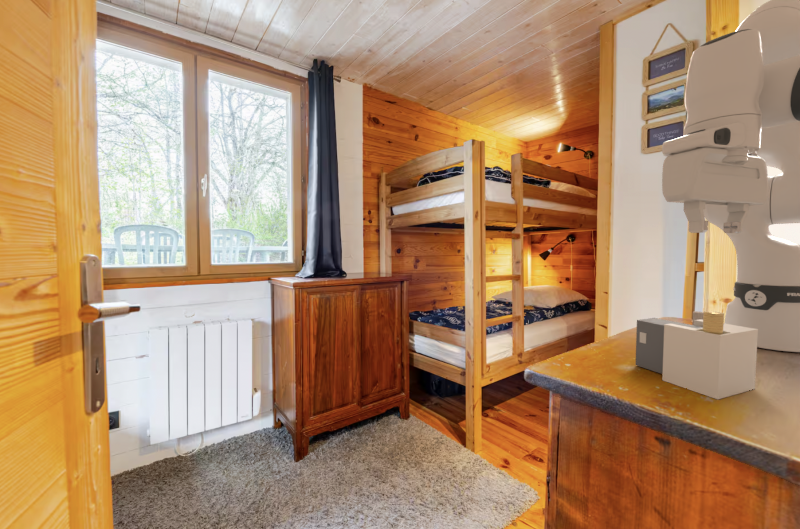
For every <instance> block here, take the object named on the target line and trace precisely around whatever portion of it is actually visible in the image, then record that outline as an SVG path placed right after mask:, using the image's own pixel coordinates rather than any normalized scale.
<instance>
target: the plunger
mask: <svg viewBox="0 0 800 529" xmlns="http://www.w3.org/2000/svg"><path fill="white" fill-rule="evenodd" d="M703 312H704V313H703V332H707V333H712V334H717V335H721V334H723V324H724V322H725V313H723V312H720V311H712V310H711V311H710V310H709V311H708V310H707V311H703Z"/></svg>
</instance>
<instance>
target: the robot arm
mask: <svg viewBox="0 0 800 529" xmlns="http://www.w3.org/2000/svg"><path fill="white" fill-rule="evenodd" d="M684 106H685V121H686V122H685V124H684V127H683V136H680V137H677V138H674V139H670V140H666V141H664V142H663V143H662V147H661V152H662V155H663V156H664V157H665V158H664V160H663V164H662V173H661V174H662V175H661V176H662V177H661V178H662V179H661V184H662V185H661V186H662V187H661V188H662V189H661V190H662V195H663V197H664V200H665V201H666V202H667V203H677V204H678V203H680V204H683V212H684V215H685V217H686V219H687V221H688V233H691V234H692V233H693V234H696V233H697V234H698V233H699V234H702V233H704V234H705V233H707V232H708V231H709V230H708V229H709V228H708V226H709V223H711V224H712V225H714V226H716V227H717V228H719V229H720V230H721V231H723V233H724V234H726V235H727V236H728V238H729V239H730V241H731V243H732V244H733V246H734V249H735V251H736V252H735V253H736V254H735V255H736V264H737V265H736V267H737V269H736V270H737V272H736V273H737V274H736V277H737V279H736V281H735V282H734V285H733V288H732V289H733V296H734V297H735V298H734V299H733V300H731V301H730V302H728V303H727V305H726V310H725V314H724V323H725V324H731V325H736V326H742V327H748V328H754V329H758V337H757V348H760V349H766V350H771V351H772V350H773V351H783V352H792V353H800V244H799V243H796V242H793V241H790V240H789V239H785V238H781V237H778V236H775V235H773V234H772V233H771V231H770V229H769V226H771V225H780V224H781V225H782V224H785V225H786V224H787V225H788V224H800V0H768V1H766V2H765V3H763V4H761V5H760V6H758V7H757V8H756V9H754V10H753V11H751V13H750V14H749V15H747V16H746V17H745V19H743V21H742V22H741V23H740V24H739V26H738V27H737V28H736V30H735V31H732V32H729V33H727V34H724V35H721V36H718V37H716V38H713V39H710V40H708V41H706V42H705V43H703V44H702V45H700V46H698V47H697V48H696V49H695V50H694V51H693V52H692V55H691V57H690V62H689V65H688V70H687V75H686V83H685V93H684ZM768 167H771V168H775V169H779V170H780V171H781V173H780V174H777V175H774V176H768Z"/></svg>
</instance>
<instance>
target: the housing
mask: <svg viewBox="0 0 800 529" xmlns="http://www.w3.org/2000/svg"><path fill="white" fill-rule="evenodd" d="M694 325H695V326H700V327H703V320H702V319H699V320H694ZM757 337H758V329H754V328H748V327H742V326H736V325H731V324H725V323H724V324H723V334H721V335H717V334H712V333H707V332H703V328H698V329H696V328H691V327H686V326H681V325H676V324H664V347H663V374H662V381H663V382H667V383H670V384H672V385H675V386H677V387H680V388H684V389H686V388H687V390H690V391H693V392H695V393H698V394H701V395H705V396H706V397H710V398H713V399H715V400H720V399H724V398H728V397H733V396H735V395H739V394H742V393H745V392H749V390H750V391H752V389H753V390H755V388H756V376H757V374H756V373H757V372H756V371H757V356H758V355H757V354H758V347H757Z"/></svg>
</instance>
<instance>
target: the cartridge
mask: <svg viewBox="0 0 800 529" xmlns="http://www.w3.org/2000/svg"><path fill="white" fill-rule="evenodd" d="M664 324H676V325H681V326H686V327H691V328H696V329H698V328H703V327H700V326H695V325H692V324H689V323H684V322H678V321H673V320H669V319H668V320H667V319H663V318H658V317H650V318H649V317H648V318H642V319H636V334H635V336H636V338H635V366H637V367H641V368H643V369H647V370H649V371H653V372H654V373H658V374H661V375H663V347H664Z"/></svg>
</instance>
